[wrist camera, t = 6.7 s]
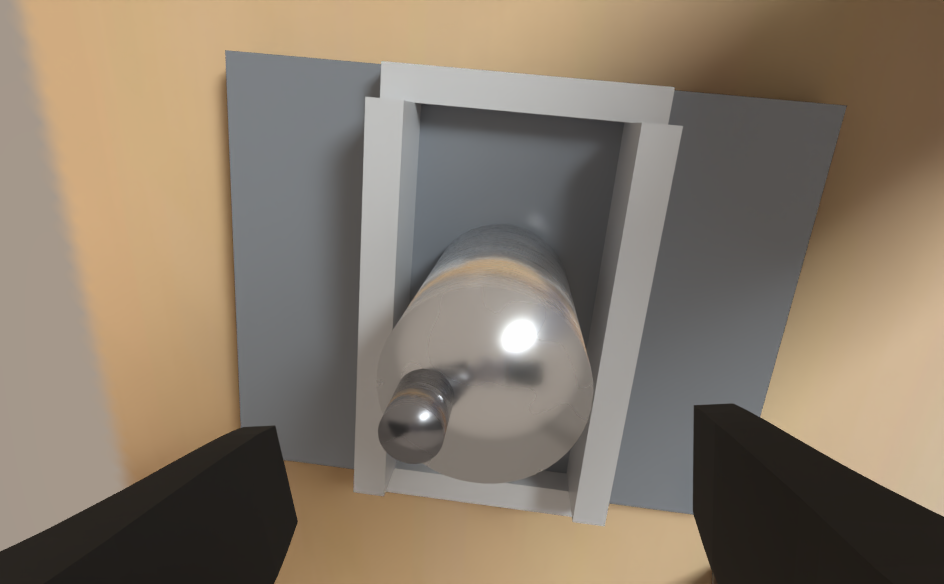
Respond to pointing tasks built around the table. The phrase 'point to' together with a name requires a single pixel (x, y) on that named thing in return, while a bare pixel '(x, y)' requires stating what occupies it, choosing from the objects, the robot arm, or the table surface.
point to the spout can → (487, 362)
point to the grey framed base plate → (535, 209)
